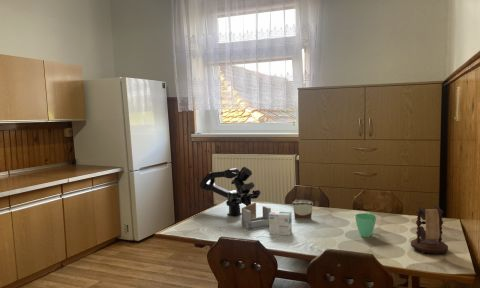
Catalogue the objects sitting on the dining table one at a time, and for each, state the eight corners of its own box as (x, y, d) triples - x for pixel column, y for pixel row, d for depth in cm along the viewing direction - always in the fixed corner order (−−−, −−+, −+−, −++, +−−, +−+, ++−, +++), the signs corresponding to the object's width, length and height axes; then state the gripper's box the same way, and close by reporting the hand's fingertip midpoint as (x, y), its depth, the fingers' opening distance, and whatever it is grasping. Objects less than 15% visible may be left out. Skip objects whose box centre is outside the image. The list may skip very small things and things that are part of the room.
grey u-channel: (241, 227, 205) (241, 209, 204) (266, 222, 212) (266, 205, 211) (247, 230, 200) (246, 212, 199) (272, 225, 207) (272, 207, 206)
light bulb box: (292, 231, 196) (291, 211, 195) (289, 235, 190) (289, 215, 189) (272, 230, 199) (271, 210, 198) (268, 234, 193) (268, 213, 192)
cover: (241, 226, 206) (241, 208, 205) (254, 219, 218) (254, 202, 217) (243, 226, 206) (243, 208, 205) (256, 219, 217) (255, 202, 216)
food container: (312, 216, 223) (312, 199, 222) (313, 219, 217) (313, 202, 216) (291, 216, 224) (291, 199, 223) (292, 219, 218) (292, 202, 217)
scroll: (420, 256, 160) (421, 210, 158) (405, 244, 174) (405, 202, 173) (455, 255, 160) (456, 209, 158) (436, 243, 174) (437, 201, 173)
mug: (373, 240, 181) (374, 219, 180) (353, 237, 186) (353, 217, 185) (379, 231, 193) (379, 212, 192) (359, 228, 198) (359, 210, 197)
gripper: (230, 179, 214) (241, 202, 205) (258, 176, 223) (269, 197, 214) (225, 190, 221) (234, 213, 213) (252, 187, 231) (262, 208, 222)
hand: (250, 208), depth 215 cm, fingers closed
